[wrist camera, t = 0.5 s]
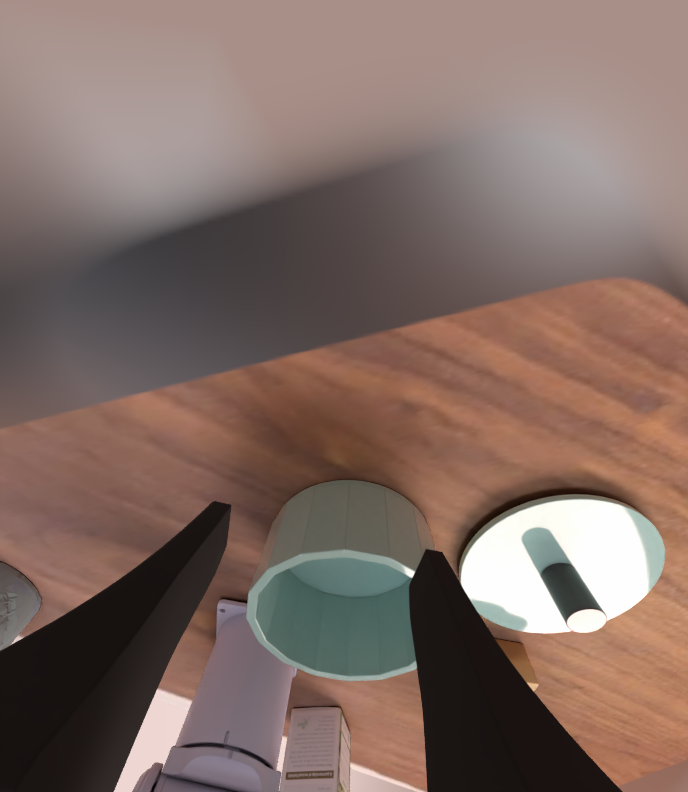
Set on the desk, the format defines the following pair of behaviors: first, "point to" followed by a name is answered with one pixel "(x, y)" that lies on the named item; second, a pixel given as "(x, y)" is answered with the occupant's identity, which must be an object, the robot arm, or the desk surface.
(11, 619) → the drinking glass
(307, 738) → the syrup box
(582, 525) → the lid
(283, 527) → the pot
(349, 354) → the desk surface
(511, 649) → the tan wooden block
